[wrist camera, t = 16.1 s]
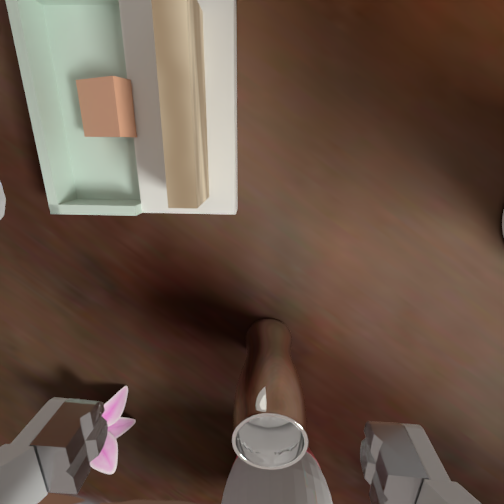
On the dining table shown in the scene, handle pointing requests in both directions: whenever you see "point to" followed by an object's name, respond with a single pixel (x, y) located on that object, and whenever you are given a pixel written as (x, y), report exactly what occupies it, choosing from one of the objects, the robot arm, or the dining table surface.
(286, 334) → the beer glass
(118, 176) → the box
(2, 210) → the french press
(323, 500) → the citrus juicer
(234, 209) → the plate
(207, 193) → the bar
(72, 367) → the dining table surface
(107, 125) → the terracotta tile
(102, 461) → the lily
